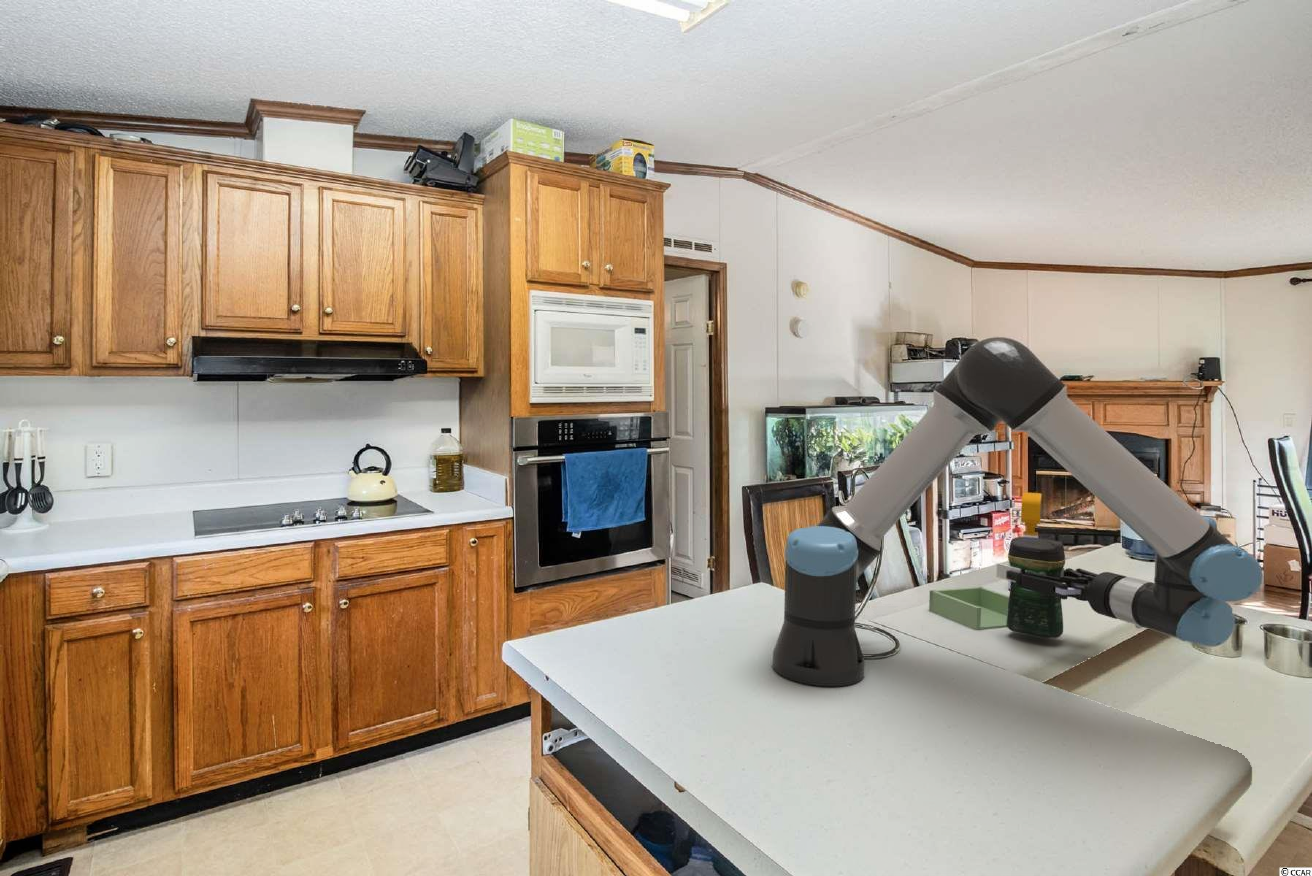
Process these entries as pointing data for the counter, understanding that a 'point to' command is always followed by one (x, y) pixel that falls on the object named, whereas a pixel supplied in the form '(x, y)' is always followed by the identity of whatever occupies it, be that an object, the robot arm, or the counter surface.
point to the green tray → (971, 606)
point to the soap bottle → (1030, 515)
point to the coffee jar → (1030, 607)
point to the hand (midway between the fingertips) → (1016, 568)
